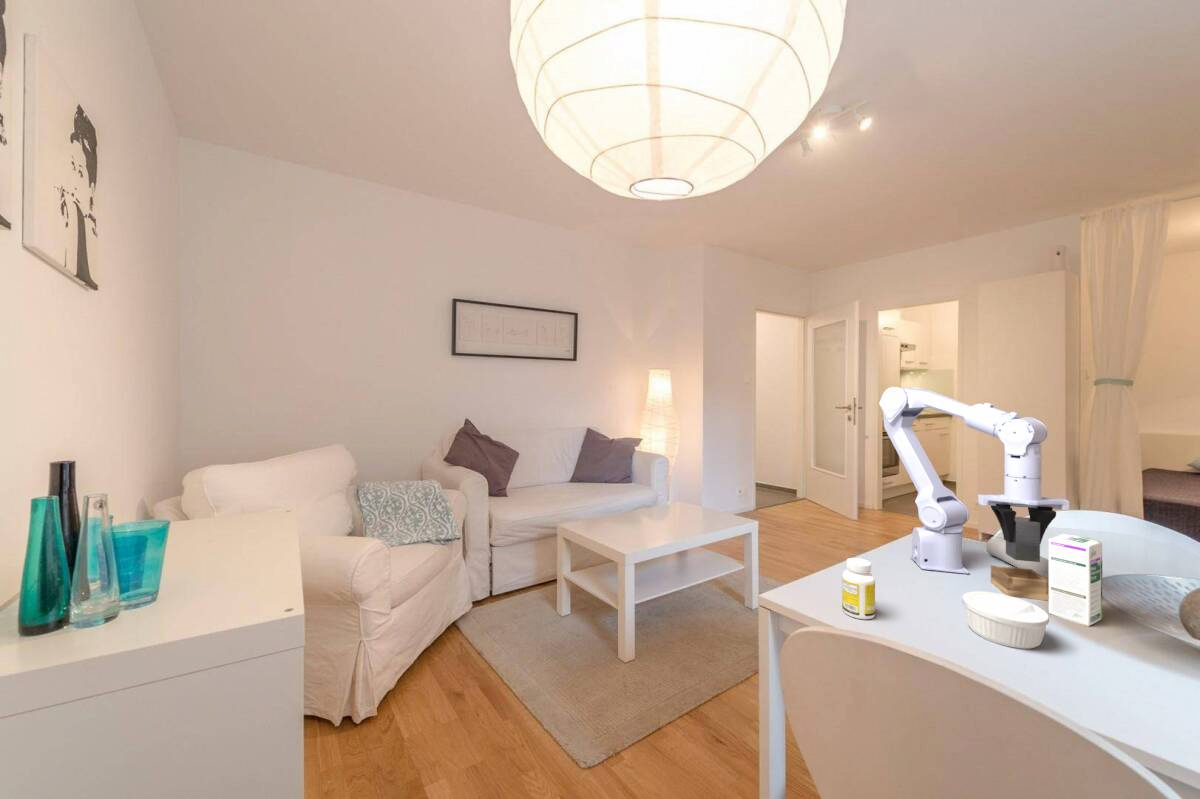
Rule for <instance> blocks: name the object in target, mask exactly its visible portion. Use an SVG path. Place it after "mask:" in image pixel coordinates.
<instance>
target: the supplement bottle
mask: <svg viewBox="0 0 1200 799" xmlns="http://www.w3.org/2000/svg"><path fill="white" fill-rule="evenodd" d="M846 568H847V569H846V570H844V571H843V573H842V575H841V576H842V577H841V578H842V590H841V591H842V594H841V595H842V605H841V607H842V611H843V612H844V613H845V614H846V615H847V616H849V617H851V618H854V619H859V620H871V619H873V618H875V616H876V577H875V576H874V575H873V574H872V573H871V570H872V563H871V562H870V561H869V560H866V559H863V558H857V557H850V558H847V559H846Z"/></svg>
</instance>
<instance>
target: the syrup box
mask: <svg viewBox="0 0 1200 799" xmlns="http://www.w3.org/2000/svg"><path fill="white" fill-rule="evenodd" d="M1048 560H1049V601H1048V613H1049V615H1052V616H1055V617H1058V618H1061V619H1064V620H1067V621H1070V622H1072V623H1076V624H1080V625H1083V626H1086V627H1091V625H1094V624H1096V623H1098V622H1099V621H1101V620H1103V542H1102V541H1100V540H1096V539H1093V538H1089V537H1085V536H1079V535H1074V534H1066V533H1061V534H1060V535H1056V536H1053V537H1050V538H1048Z"/></svg>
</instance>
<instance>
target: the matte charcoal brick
mask: <svg viewBox="0 0 1200 799" xmlns="http://www.w3.org/2000/svg"><path fill="white" fill-rule="evenodd" d="M1006 554H1007V555H1008V556H1010V557H1012V558H1013V559H1015V560H1021V561H1033V562H1040V556H1041V544H1040V522H1038V521H1036V520H1033V519H1031V518H1030V517H1025V516H1015V520H1014V538H1013V542H1008V541H1006Z"/></svg>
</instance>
